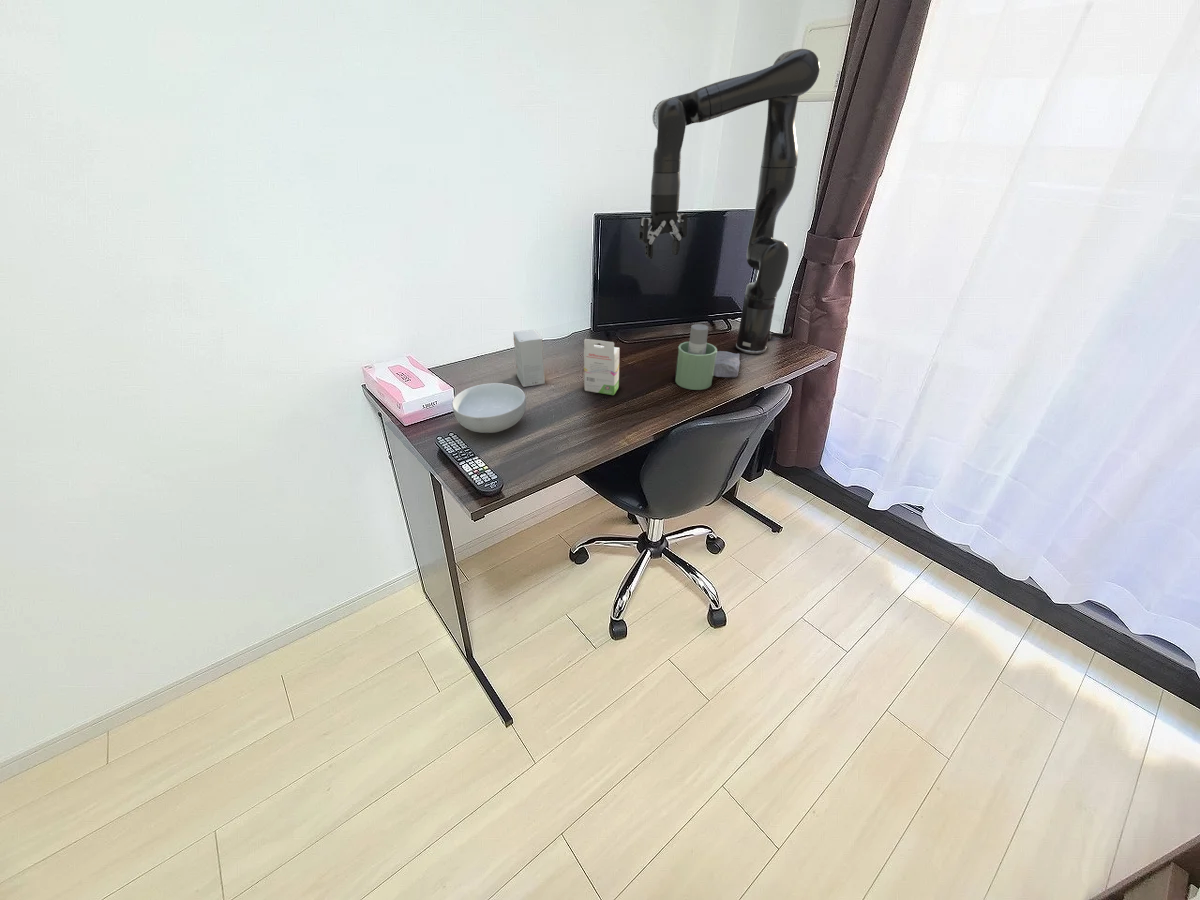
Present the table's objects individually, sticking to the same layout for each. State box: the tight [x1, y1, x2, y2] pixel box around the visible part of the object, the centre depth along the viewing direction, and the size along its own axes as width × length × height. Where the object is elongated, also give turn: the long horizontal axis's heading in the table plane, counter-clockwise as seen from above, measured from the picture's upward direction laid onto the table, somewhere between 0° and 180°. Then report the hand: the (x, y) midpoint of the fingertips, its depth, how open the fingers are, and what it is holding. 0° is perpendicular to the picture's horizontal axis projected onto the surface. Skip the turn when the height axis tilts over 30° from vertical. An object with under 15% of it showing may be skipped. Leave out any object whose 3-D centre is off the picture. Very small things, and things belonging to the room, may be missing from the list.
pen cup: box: [674, 341, 718, 391], centre depth 137 cm, size 10×10×10 cm
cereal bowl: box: [451, 382, 527, 434], centre depth 117 cm, size 17×17×7 cm
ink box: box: [583, 338, 621, 396], centre depth 131 cm, size 9×5×15 cm, turn 71°
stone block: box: [713, 350, 741, 379], centre depth 146 cm, size 12×5×10 cm
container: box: [688, 323, 709, 355], centre depth 135 cm, size 5×5×15 cm
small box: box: [513, 329, 546, 388], centre depth 136 cm, size 8×6×13 cm
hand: (662, 256), depth 140 cm, fingers open, 8 cm apart
